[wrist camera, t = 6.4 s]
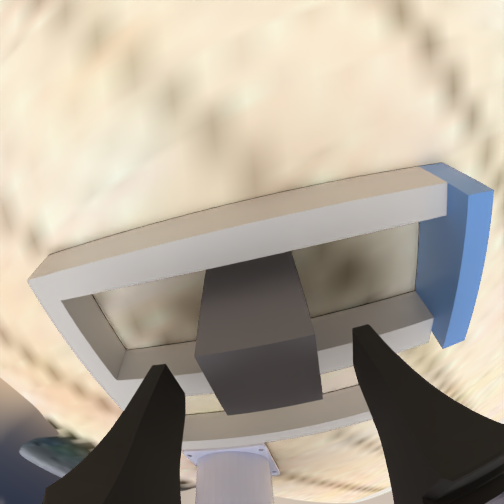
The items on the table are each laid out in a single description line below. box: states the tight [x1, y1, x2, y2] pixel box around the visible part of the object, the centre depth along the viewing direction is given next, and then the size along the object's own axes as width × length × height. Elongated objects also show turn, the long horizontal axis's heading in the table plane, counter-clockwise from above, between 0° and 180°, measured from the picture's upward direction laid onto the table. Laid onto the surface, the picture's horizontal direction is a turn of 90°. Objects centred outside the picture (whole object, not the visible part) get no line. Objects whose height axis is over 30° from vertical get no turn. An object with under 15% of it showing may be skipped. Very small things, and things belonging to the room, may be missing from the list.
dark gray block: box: [194, 251, 323, 416], centre depth 13 cm, size 4×4×6 cm
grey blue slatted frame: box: [27, 163, 494, 450], centre depth 16 cm, size 17×21×4 cm
